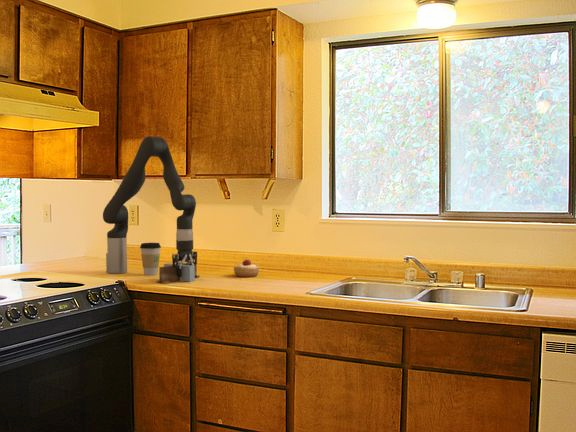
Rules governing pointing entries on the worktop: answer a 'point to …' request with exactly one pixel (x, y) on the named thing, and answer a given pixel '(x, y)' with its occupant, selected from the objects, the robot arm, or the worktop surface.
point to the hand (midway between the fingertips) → (185, 275)
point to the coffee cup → (150, 258)
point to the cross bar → (186, 272)
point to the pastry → (246, 269)
